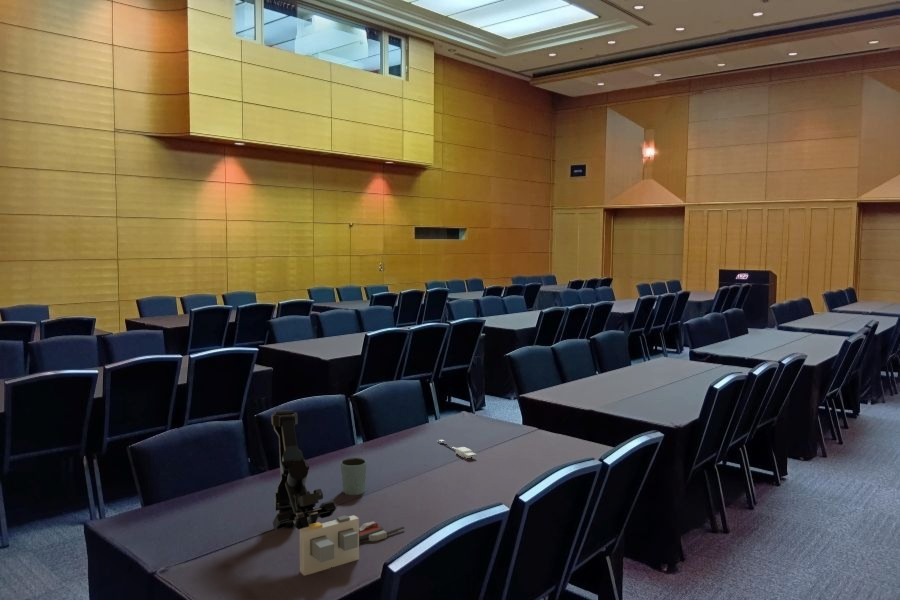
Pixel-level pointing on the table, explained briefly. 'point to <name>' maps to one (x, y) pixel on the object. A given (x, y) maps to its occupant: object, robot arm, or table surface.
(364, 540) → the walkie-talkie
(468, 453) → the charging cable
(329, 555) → the grey rectangular block
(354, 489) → the grey green cup
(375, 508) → the table surface
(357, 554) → the console
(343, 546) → the button dark
